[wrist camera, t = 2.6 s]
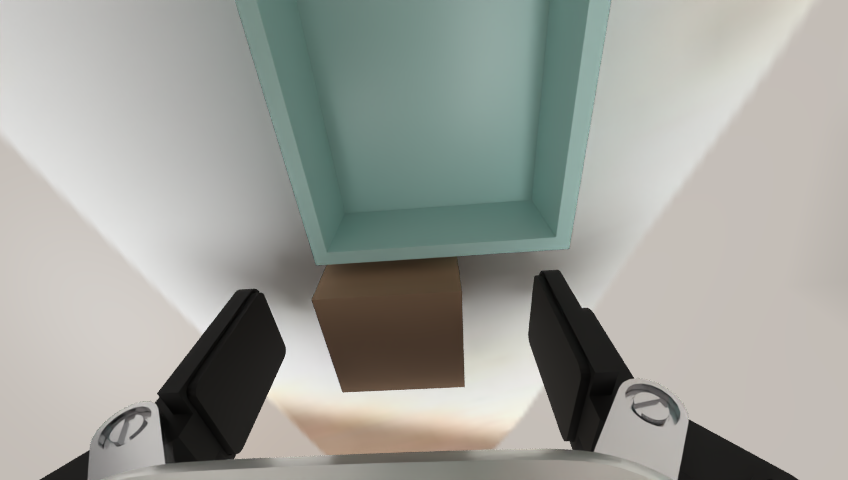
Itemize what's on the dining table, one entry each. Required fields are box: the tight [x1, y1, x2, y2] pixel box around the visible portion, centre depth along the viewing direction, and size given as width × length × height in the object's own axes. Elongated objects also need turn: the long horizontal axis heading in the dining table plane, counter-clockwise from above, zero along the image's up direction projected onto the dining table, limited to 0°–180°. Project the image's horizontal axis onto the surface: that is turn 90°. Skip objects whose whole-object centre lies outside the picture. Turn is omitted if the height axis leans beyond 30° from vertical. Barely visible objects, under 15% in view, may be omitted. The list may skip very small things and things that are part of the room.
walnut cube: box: [312, 256, 465, 392], centre depth 12 cm, size 4×4×4 cm
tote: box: [235, 0, 611, 265], centre depth 8 cm, size 10×7×3 cm, turn 5°
